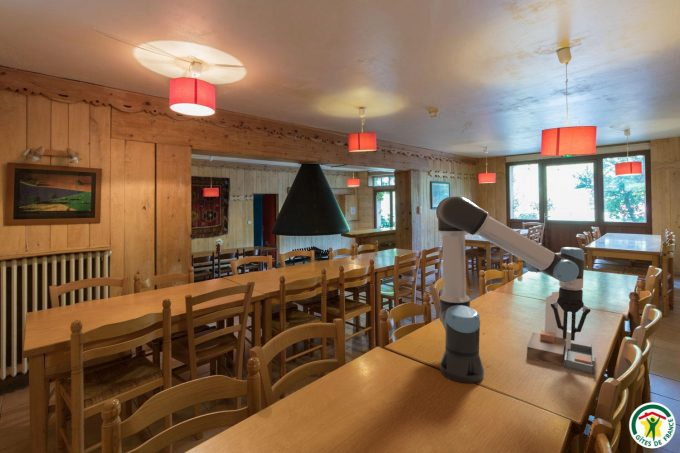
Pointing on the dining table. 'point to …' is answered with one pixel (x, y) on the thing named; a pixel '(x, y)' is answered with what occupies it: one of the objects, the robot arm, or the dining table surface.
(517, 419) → the dining table surface
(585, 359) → the tile
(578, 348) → the tray
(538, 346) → the brown flat block
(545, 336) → the tile
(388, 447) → the dining table surface
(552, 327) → the milk
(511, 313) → the dining table surface
